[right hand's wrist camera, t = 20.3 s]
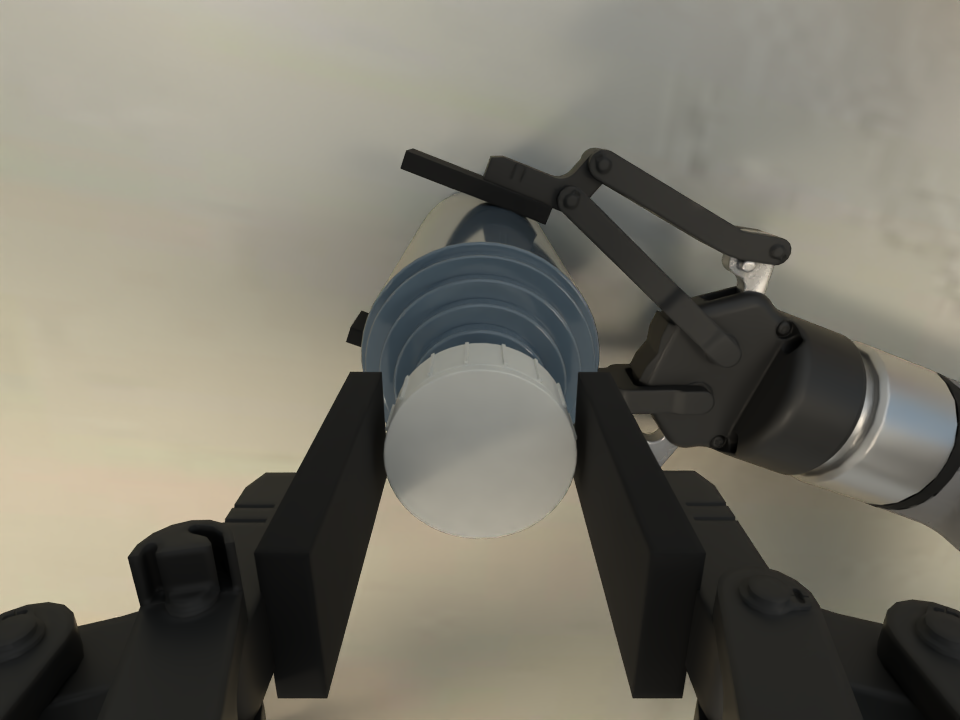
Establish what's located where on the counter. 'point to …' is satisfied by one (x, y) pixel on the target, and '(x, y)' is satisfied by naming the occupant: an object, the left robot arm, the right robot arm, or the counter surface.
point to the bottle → (479, 298)
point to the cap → (480, 442)
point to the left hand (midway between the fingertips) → (379, 246)
